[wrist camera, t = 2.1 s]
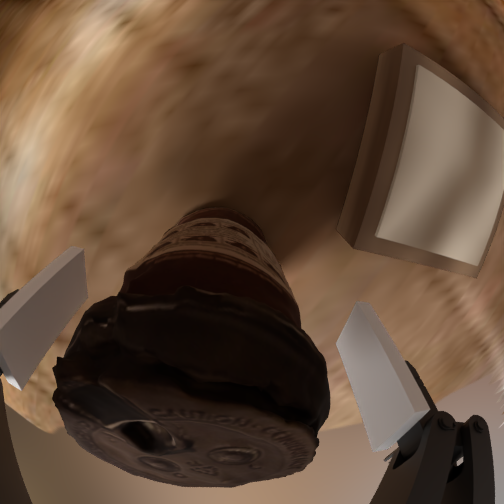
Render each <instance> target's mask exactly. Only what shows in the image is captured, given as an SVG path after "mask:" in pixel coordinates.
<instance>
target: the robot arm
mask: <svg viewBox="0 0 504 504" xmlns="http://www.w3.org/2000/svg"><path fill="white" fill-rule="evenodd" d="M87 298H88V292H87V283H86V272H85V259H84V249H82V248H78V247H74V246H71V247H70V248H68V249H67V250H66V251H64V252H63V253H62V254H61V255H59V256H58V257H57V258H56V259H55V260H53V261H52V262H51V263H50V264H49V265H47V266H46V267H45V268H44V269H43V270H41V271H40V272H39V273H38V274H37V275H36V276H35V277H33V278H32V279H31V280H30V281H29V282H28V283H27V284H26V285H24V286H23V287H22V288H21V289H20V290H19V289H17V290H15V291H13V292H12V293H10V294H8V295H7V296H6V297H5V298H4V299H3V300H2V301H1V303H0V376H1V375H2V373H3V374H4V376H5V377H6V379H7V381H8V383H10V384H11V385H13V386H15V387H16V388H18V389H20V390H21V391H22V390H23V388H24V386H25V385H26V383H27V381H28V380H29V378H30V377H31V375H32V374H33V372H34V371H35V369H36V367H37V366H38V364H39V363H40V361H41V360H42V358H43V357H44V356H45V354H46V353H47V351H48V350H49V348H50V347H51V345H52V344H53V343H54V341H55V340H56V338H57V337H58V336H59V334H60V333H61V332H62V330H63V329H64V328H65V326H66V325H67V324H68V322H69V321H70V320H71V318H72V317H73V316H74V314H75V313H76V312H77V311H78V309H79V308H80V307H81V305H82V304H83V303H84V302H85V300H86V299H87ZM336 345H337V348H338V351H339V353H340V356H341V359H342V361H343V364H344V367H345V370H346V373H347V375H348V378H349V381H350V384H351V387H352V390H353V393H354V396H355V398H356V401H357V404H358V407H359V410H360V413H361V416H362V419H363V423H364V426H365V429H366V432H367V435H368V438H369V441H370V445H371V448H372V451H373V452H375V451H381V450H386V449H389V448H390V447H391V446H392V445H393V444H395V443H396V442H397V443H398V446H399V447H398V448H397V449H396V450H395V451H393V452H392V453H391V454H390V455H388V456H387V457H386V458H385V459H384V461H387V460H389V459H390V458H391V457H392V459H391V461H390V462H389V466H388V468H387V470H386V472H385V474H384V477H383V479H382V481H381V483H380V485H379V487H378V489H377V491H376V493H375V495H374V496H373V498H372V500H371V502H370V504H495V482H494V466H493V456H492V448H491V441H490V434H489V429H488V425H487V423H486V421H485V420H484V419H483V418H482V417H480V416H478V415H473V416H471V417H470V418H469V419H468V420H467V421H466V422H465V423H463V422H455V419H454V418H453V417H452V416H451V415H450V414H449V413H447V412H444V411H438V410H437V408H436V406H435V404H434V402H433V400H432V398H431V397H430V395H429V393H428V391H427V389H426V387H425V386H424V384H423V382H422V380H421V379H420V376H419V375H418V373H417V371H416V369H415V368H414V367H413V366H412V365H411V364H410V363H409V362H408V361H404V359H403V357H402V356H401V354H400V352H399V350H398V349H397V347H396V345H395V344H394V342H393V340H392V338H391V337H390V335H389V333H388V332H387V330H386V328H385V327H384V325H383V324H382V322H381V320H380V319H379V317H378V315H377V314H376V312H375V311H374V309H373V308H372V306H371V304H370V303H367V302H360V301H356V303H355V305H354V308H353V310H352V312H351V314H350V316H349V318H348V320H347V322H346V324H345V326H344V328H343V330H342V332H341V334H340V336H339V338H338V340H337V342H336ZM461 457H463V463H461V464H460V465H459V466H457V461H458V460H459V459H460V458H461ZM0 504H32V502H31V499H30V497H29V494H28V492H27V489H26V487H25V484H24V481H23V478H22V476H21V472H20V469H19V466H18V463H17V459H16V456H15V452H14V448H13V445H12V440H11V436H10V432H9V427H8V422H7V416H6V410H5V403H4V395H3V386H2V382H1V379H0Z"/></svg>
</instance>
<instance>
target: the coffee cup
mask: <svg viewBox="0 0 504 504" xmlns="http://www.w3.org/2000/svg"><path fill="white" fill-rule="evenodd" d="M52 369H53V372H54V375H55V378H56V383H57V389H56V390H55V391H54V393H53V397H52V400H53V401H54V403H55V406H56V407H57V409H58V410H59V412H60V415H61V417H62V420H63V421H64V425H65V428H66V430H67V433H68V434H69V435H71V436H72V437H73V438H74V439H75V440H76V442H77V443H78V444H79V445H80V446H81V447H82V448H83V449H85V450H86V451H87V452H89V453H91V454H93V455H94V456H96V457H98V458H100V459H102V460H104V461H106V462H108V463H110V464H112V465H114V466H116V467H118V468H120V469H122V470H124V471H126V472H128V473H130V474H132V475H136V476H140V477H144V478H147V479H150V480H153V481H157V482H162V483H167V484H172V485H177V486H182V487H236V486H239V485H244V484H247V483H250V482H257V481H263V480H270V479H274V478H280V477H286V476H287V475H292V474H294V473H295V472H300V471H302V470H304V469H305V467H306V466H307V465H308V464H309V463H310V462H312V461H313V457H314V456H315V454H316V451H315V450H316V448H317V447H318V446H319V439H318V438H317V434H318V431H319V429H320V428H321V426H322V425H323V424H324V422H325V420H326V419H327V418H328V415H329V410H330V390H329V383H328V378H327V366H326V361H325V359H324V357H323V355H322V354H321V353H320V352H319V351H318V349H317V348H316V346H315V344H314V343H313V341H312V340H311V338H310V337H309V336H308V335H307V334H306V333H305V331H304V330H302V329H301V320H300V312H299V308H298V305H297V303H296V301H295V298H294V296H293V293H292V290H291V288H290V287H289V284H288V282H287V280H286V278H285V276H284V273H283V271H282V268H281V265H280V264H279V262H278V261H277V259H276V257H275V255H274V254H273V252H272V251H271V250H270V249H269V248H268V246H267V243H266V241H265V238H264V235H263V233H262V231H261V229H260V228H259V227H258V226H257V225H256V224H255V223H254V222H253V221H252V220H251V219H250V218H248V217H246V216H245V215H243V214H241V213H239V212H237V211H235V210H232V209H229V208H221V207H213V208H206V209H201V210H198V211H196V212H194V213H192V214H190V215H187V216H185V217H183V218H181V219H180V221H179V222H178V224H177V225H176V226H174V227H173V228H171V229H169V230H168V231H167V232H166V233H165V234H164V235H163V237H162V239H161V240H160V241H159V242H158V244H157V245H155V246H154V247H153V248H152V249H151V250H150V251H149V253H147V254H146V255H145V256H144V257H143V258H142V259H141V260H139V261H138V262H137V263H136V264H135V265H133V266H132V267H130V268H128V269H127V270H126V272H125V275H124V282H123V285H122V288H121V290H120V292H119V293H118V295H117V296H110V297H108V298H106V299H104V300H102V301H100V302H97V303H95V304H93V305H92V306H91V307H90V308H89V309H88V310H87V311H85V313H84V315H83V317H82V319H81V321H80V323H79V325H78V326H77V328H76V330H75V332H74V335H73V337H72V339H71V342H70V344H69V346H68V348H67V350H66V352H65V355H64V358H62V357H57V364H56V365H55V366H54V367H53V368H52Z"/></svg>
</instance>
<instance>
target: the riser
mask: <svg viewBox="0 0 504 504" xmlns="http://www.w3.org/2000/svg"><path fill="white" fill-rule="evenodd" d="M503 207H504V118H503V117H502V116H501V115H500V114H499V113H498V112H497V111H496V110H495V109H494V108H493V107H492V106H491V105H489V104H488V103H487V102H486V101H485V100H484V99H483V98H482V97H480V96H479V95H478V94H477V93H476V92H475V91H473V90H472V89H471V88H470V87H468V86H467V85H466V84H465V83H463V82H462V81H461V80H460V79H458V78H457V77H456V76H454V75H453V74H452V73H450V72H449V71H447V70H446V69H445V68H443V67H442V66H440V65H439V64H437V63H436V62H434V61H433V60H431V59H430V58H428V57H426V56H425V55H423V54H422V53H420V52H418V51H417V50H415V49H413V48H412V47H410V46H408V45H406V44H405V43H402V44H400V45H398V46H396V47H393V48H391V49H389V50H387V51H385V52H383V53H381V54H379V60H378V66H377V71H376V77H375V82H374V87H373V92H372V97H371V102H370V106H369V111H368V116H367V120H366V124H365V129H364V133H363V137H362V141H361V145H360V149H359V153H358V157H357V160H356V164H355V168H354V171H353V175H352V179H351V182H350V186H349V189H348V193H347V196H346V199H345V203H344V206H343V209H342V213H341V216H340V219H339V222H338V225H337V228H336V230H337V231H338V232H339V233H340V234H341V236H342V237H343V238H344V239H345V240H346V241H347V242H348V243H349V244H350V246H351V247H352V248H353V249H357V250H362V251H366V252H370V253H375V254H379V255H384V256H388V257H392V258H396V259H401V260H405V261H409V262H413V263H417V264H421V265H426V266H430V267H434V268H438V269H442V270H446V271H450V272H454V273H457V274H461V275H465V276H469V277H473V278H477V277H478V274H479V272H480V270H481V268H482V265H483V263H484V261H485V258H486V256H487V253H488V251H489V248H490V246H491V243H492V240H493V238H494V235H495V232H496V229H497V226H498V223H499V220H500V217H501V214H502V210H503Z"/></svg>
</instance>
